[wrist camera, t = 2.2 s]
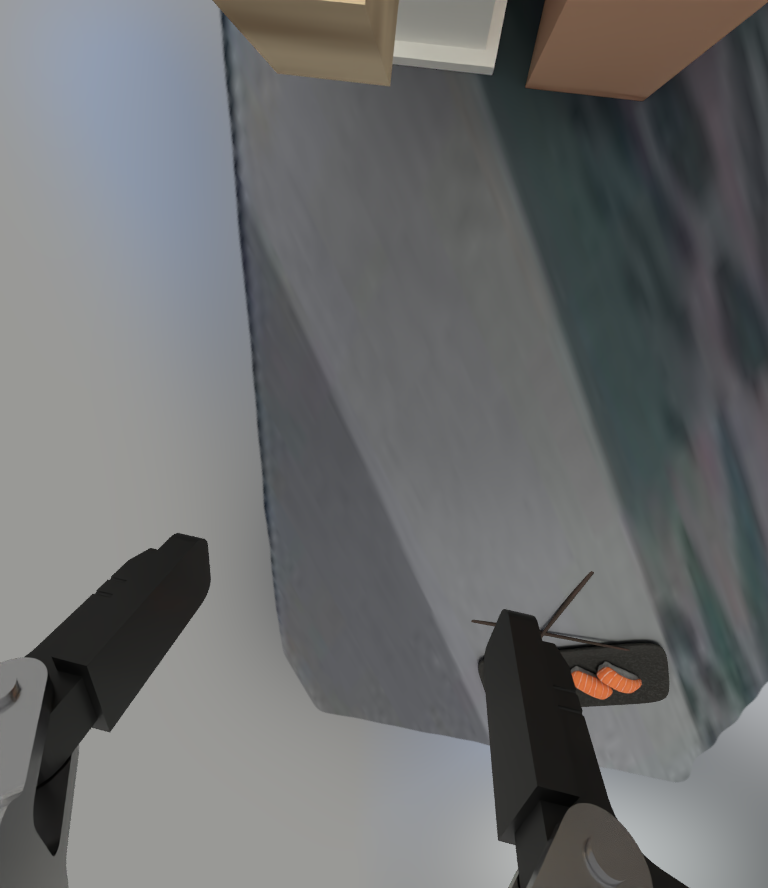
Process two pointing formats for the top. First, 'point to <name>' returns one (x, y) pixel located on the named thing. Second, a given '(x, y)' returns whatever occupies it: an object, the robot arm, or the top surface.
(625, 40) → the tall open box
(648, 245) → the top surface
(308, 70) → the tan t-shaped block
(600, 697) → the sushi plate
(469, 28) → the pedestal
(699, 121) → the top surface
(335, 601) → the top surface
